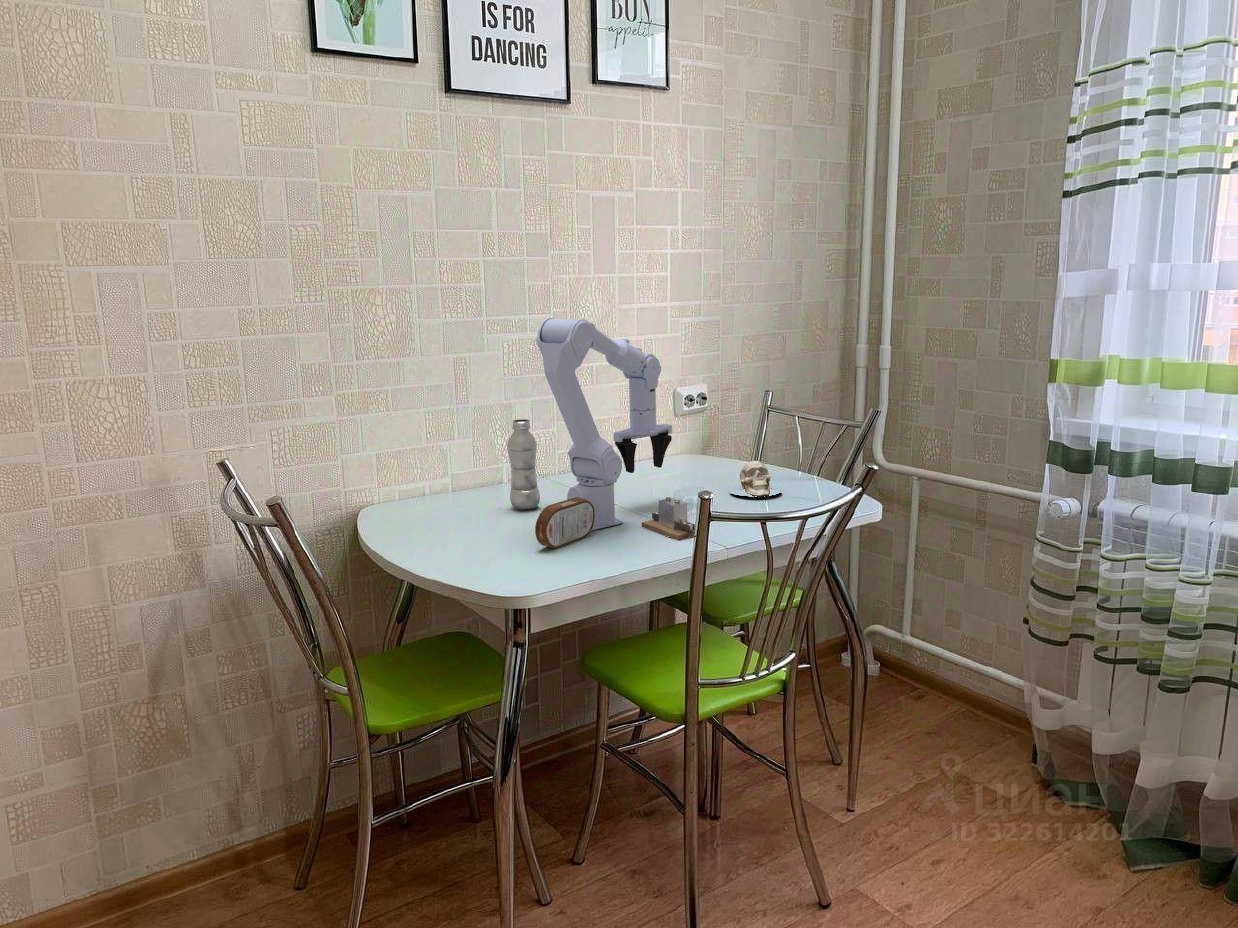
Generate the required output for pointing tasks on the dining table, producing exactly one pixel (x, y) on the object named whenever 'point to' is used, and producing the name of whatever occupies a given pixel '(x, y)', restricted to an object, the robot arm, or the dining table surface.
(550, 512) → the tin
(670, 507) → the grey toy brick
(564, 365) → the robot arm
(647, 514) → the dining table surface
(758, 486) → the skull
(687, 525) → the chain ends
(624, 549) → the dining table surface
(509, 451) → the plastic bottle
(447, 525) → the dining table surface
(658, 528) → the board
